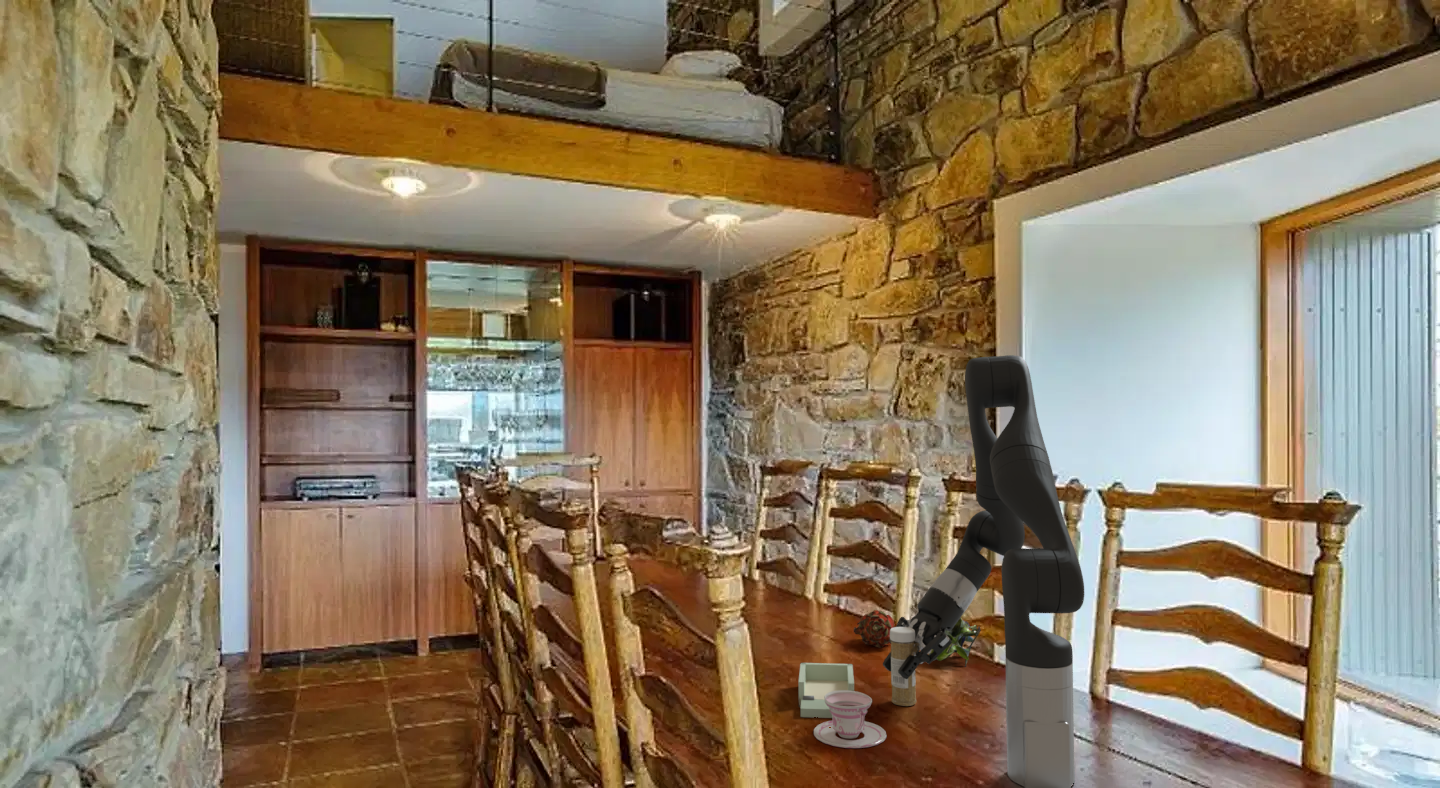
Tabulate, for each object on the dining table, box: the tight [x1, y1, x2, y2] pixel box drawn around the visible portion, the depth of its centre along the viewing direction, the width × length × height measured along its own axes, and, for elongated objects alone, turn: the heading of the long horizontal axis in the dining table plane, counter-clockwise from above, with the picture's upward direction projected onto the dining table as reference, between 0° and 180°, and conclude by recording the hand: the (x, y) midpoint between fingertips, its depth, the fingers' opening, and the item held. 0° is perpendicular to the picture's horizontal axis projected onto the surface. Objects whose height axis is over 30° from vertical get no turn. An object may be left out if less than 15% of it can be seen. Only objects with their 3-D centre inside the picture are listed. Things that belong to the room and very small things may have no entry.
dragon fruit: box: [853, 609, 895, 649], centre depth 199 cm, size 8×8×12 cm
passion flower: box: [928, 617, 982, 668], centre depth 185 cm, size 11×11×12 cm
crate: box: [798, 662, 855, 719], centre depth 161 cm, size 17×10×4 cm, turn 173°
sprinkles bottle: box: [890, 626, 917, 707], centre depth 160 cm, size 5×5×14 cm
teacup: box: [813, 690, 887, 749], centre depth 145 cm, size 12×12×6 cm
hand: (894, 671), depth 159 cm, fingers closed on sprinkles bottle, 4 cm apart
